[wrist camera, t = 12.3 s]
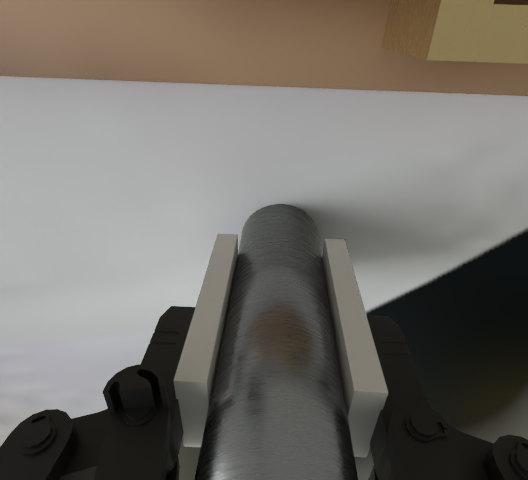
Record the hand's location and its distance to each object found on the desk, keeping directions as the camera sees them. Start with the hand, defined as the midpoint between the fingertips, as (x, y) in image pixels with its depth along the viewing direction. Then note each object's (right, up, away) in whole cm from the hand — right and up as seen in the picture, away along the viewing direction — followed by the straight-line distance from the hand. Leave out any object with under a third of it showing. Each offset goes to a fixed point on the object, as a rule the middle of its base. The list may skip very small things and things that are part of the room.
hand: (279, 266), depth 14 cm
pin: (0, +1, +2) cm, 2 cm away
